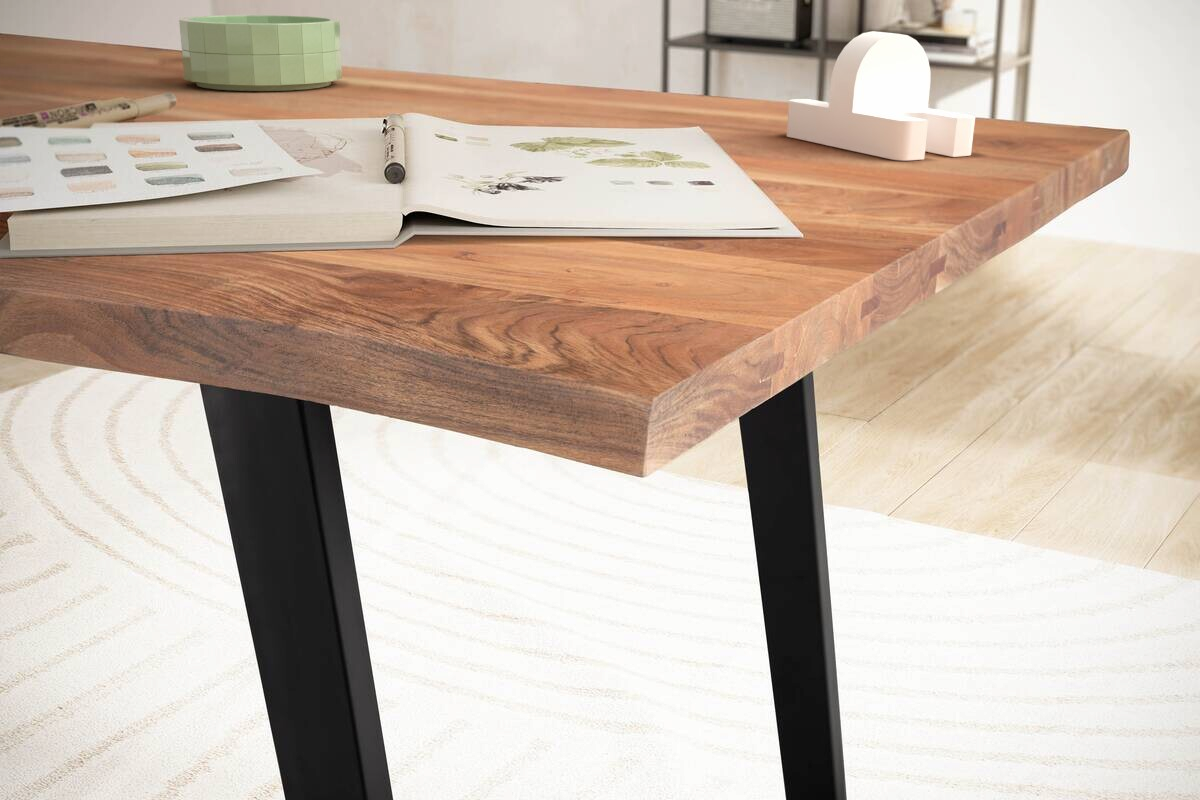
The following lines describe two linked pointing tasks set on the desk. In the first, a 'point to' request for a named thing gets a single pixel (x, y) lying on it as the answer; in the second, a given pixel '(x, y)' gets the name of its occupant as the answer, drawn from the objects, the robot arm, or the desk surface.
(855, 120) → the slotted bracket
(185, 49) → the green round bowl
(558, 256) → the desk surface
